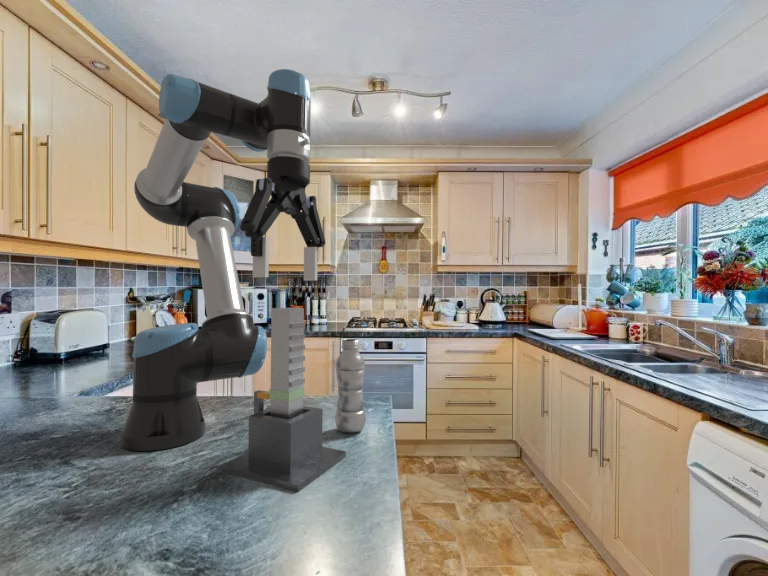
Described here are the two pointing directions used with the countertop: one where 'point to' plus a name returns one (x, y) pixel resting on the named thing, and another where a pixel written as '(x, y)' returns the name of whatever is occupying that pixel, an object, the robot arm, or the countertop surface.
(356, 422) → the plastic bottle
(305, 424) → the stand
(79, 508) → the countertop surface
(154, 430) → the robot arm
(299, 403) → the column
